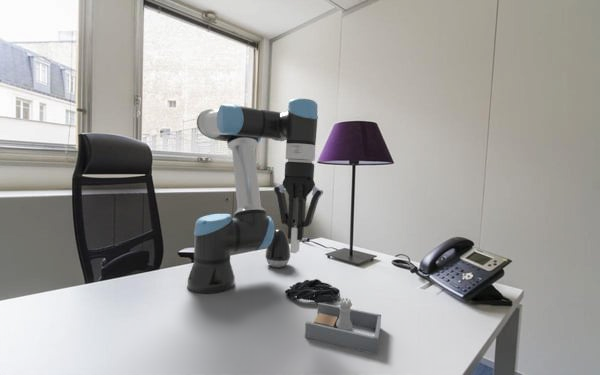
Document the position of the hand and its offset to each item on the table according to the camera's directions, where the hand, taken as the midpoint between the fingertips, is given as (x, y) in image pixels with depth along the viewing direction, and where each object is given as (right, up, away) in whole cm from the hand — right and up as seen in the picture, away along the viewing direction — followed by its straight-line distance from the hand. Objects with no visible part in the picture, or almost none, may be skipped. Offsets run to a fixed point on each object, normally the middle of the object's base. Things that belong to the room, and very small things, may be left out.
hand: (294, 251), depth 77 cm
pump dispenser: (-8, -16, +44) cm, 48 cm away
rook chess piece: (+12, -20, -3) cm, 23 cm away
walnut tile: (+8, -19, -2) cm, 21 cm away
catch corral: (+12, -19, -4) cm, 23 cm away
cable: (+5, -18, +18) cm, 26 cm away
